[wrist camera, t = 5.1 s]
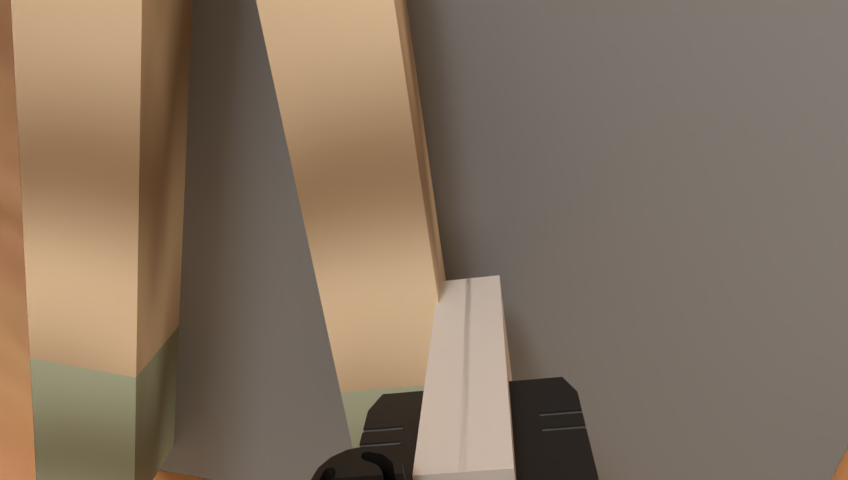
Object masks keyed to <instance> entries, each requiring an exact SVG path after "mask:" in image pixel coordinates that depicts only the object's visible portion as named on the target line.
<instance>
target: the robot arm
mask: <svg viewBox="0 0 848 480" xmlns="http://www.w3.org/2000/svg"><path fill="white" fill-rule="evenodd" d="M359 446H360V447H358V448H353V449H348V450H345V451H343V452H341V453H339V454H337V455H334V456H332V457H330V458H329V459H328V460H327V461H326V462H324V463H323V464H322V465H321V466H320V467H318V469H317V470H316V472H315V474H314V475H313V477H312V479H311V480H599V478H598V474H597V470H596V466H595V461H594V457H593V453H592V449H591V445H590V441H589V437H588V433H587V429H586V425H585V421H584V417H583V413H582V408H581V404H580V400H579V396H578V392H577V391H576V390H575V389H574V388H573V387H572V386H571V385H570V384H569V383H568V382H567V381H566V380H565V379H564V378H563V377H553V378H542V379H530V380H519V381H512V375H511V366H510V358H509V350H508V342H507V333H506V325H505V317H504V308H503V300H502V292H501V283H500V275H496V276H487V277H477V278H468V279H459V280H449V281H441V282H440V292H439V303H436V304H435V311H434V319H433V326H432V334H431V341H430V348H429V356H428V363H427V371H426V378H425V385H424V391H414V392H402V393H391V394H382V395H381V397H380V398H379V399H378V400H377V401H376V402H375V403H374V405H373V406H372V407H371V408H370V409H369V410H368V413H367V417H366V420H365V424H364V428H363V433H362V436H361V440H360V443H359Z"/></svg>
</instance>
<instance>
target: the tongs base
mask: <svg viewBox="0 0 848 480" xmlns="http://www.w3.org/2000/svg"><path fill="white" fill-rule="evenodd" d="M192 3H193V0H11V10H12V29H13V48H14V66H15V85H16V104H17V123H18V142H19V161H20V180H21V199H22V217H23V236H24V255H25V274H26V293H27V312H28V331H29V350H30V368H31V387H32V406H33V425H34V444H35V463H36V480H153V478H154V477H155V475H156V473H157V472H158V470H159V469H160V467H161V465H162V464H163V462H164V461H165V459H166V457H167V456H168V454H169V453H170V451H171V449H172V448H173V446H174V431H175V407H176V383H177V359H178V335H179V312H180V288H181V264H182V240H183V217H184V193H185V169H186V145H187V122H188V98H189V74H190V50H191V26H192Z"/></svg>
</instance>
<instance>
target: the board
mask: <svg viewBox="0 0 848 480" xmlns="http://www.w3.org/2000/svg"><path fill="white" fill-rule="evenodd" d="M406 2H407V9H408V16H409V23H410V30H411V37H412V44H413V51H414V58H415V65H416V72H417V80H418V87H419V94H420V101H421V108H422V115H423V122H424V129H425V136H426V143H427V150H428V158H429V165H430V172H431V179H432V186H433V193H434V200H435V207H436V214H437V221H438V228H439V236H440V243H441V250H442V257H443V264H444V271H445V278H446V281H449V280H459V279H468V278H477V277H487V276H496V275H500V283H501V292H502V300H503V308H504V317H505V325H506V333H507V342H508V350H509V358H510V366H511V375H512V381H519V380H530V379H542V378H553V377H563V378H564V379H565V380H566V381H567V382H568V383H569V384H570V385H571V386H572V387H573V388H574V389H575V390H576V391H577V392H578V396H579V400H580V404H581V408H582V413H583V417H584V421H585V425H586V429H587V433H588V437H589V441H590V445H591V449H592V453H593V457H594V461H595V466H596V470H597V474H598V478H599V480H831V479H832V477H833V475H834V473H835V471H836V469H837V467H838V465H839V463H840V461H841V459H842V457H843V455H844V453H845V451H846V449H847V447H848V0H406ZM348 449H353V447H352V443H351V438H350V433H349V429H348V424H347V419H346V415H345V410H344V406H343V401H342V396H341V392H340V387H339V382H338V378H337V373H336V368H335V364H334V359H333V355H332V350H331V345H330V341H329V336H328V331H327V327H326V322H325V318H324V313H323V308H322V304H321V299H320V294H319V290H318V285H317V280H316V276H315V271H314V267H313V262H312V257H311V253H310V248H309V243H308V239H307V234H306V230H305V225H304V220H303V216H302V211H301V206H300V202H299V197H298V193H297V188H296V183H295V179H294V174H293V169H292V165H291V160H290V155H289V151H288V146H287V142H286V137H285V132H284V128H283V123H282V118H281V114H280V109H279V105H278V100H277V95H276V91H275V86H274V81H273V77H272V72H271V67H270V63H269V58H268V54H267V49H266V44H265V40H264V35H263V30H262V26H261V21H260V17H259V12H258V7H257V3H256V0H193V3H192V26H191V50H190V74H189V98H188V122H187V145H186V169H185V193H184V217H183V240H182V264H181V288H180V312H179V335H178V359H177V383H176V407H175V431H174V446H173V448H172V449H171V451H170V453H169V454H168V456H167V457H166V459H165V461H164V462H163V464H162V465H161V467H160V469H159V471H165V472H170V473H176V474H181V475H187V476H192V477H198V478H204V479H209V480H311V479H312V477H313V475H314V474H315V472H316V470H317V469H318V467H320V466H321V465H322V464H323V463H324V462H326V461H327V460H328V459H329V458H330V457H332V456H334V455H337V454H339V453H341V452H343V451H345V450H348Z"/></svg>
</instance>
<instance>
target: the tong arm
mask: <svg viewBox="0 0 848 480" xmlns="http://www.w3.org/2000/svg"><path fill="white" fill-rule="evenodd" d="M256 3H257V7H258V12H259V17H260V21H261V26H262V30H263V35H264V40H265V44H266V49H267V54H268V58H269V63H270V67H271V72H272V77H273V81H274V86H275V91H276V95H277V100H278V105H279V109H280V114H281V118H282V123H283V128H284V132H285V137H286V142H287V146H288V151H289V155H290V160H291V165H292V169H293V174H294V179H295V183H296V188H297V193H298V197H299V202H300V206H301V211H302V216H303V220H304V225H305V230H306V234H307V239H308V243H309V248H310V253H311V257H312V262H313V267H314V271H315V276H316V280H317V285H318V290H319V294H320V299H321V304H322V308H323V313H324V318H325V322H326V327H327V331H328V336H329V341H330V345H331V350H332V355H333V359H334V364H335V368H336V373H337V378H338V382H339V387H340V392H341V396H342V401H343V406H344V410H345V415H346V419H347V424H348V429H349V433H350V438H351V443H352V447H353V448H358V447H360V446H359V443H360V440H361V436H362V433H363V428H364V424H365V420H366V417H367V413H368V410H369V409H370V408H371V407H372V406H373V405H374V403H375V402H376V401H377V400H378V399H379V398H380V397H381V395H382V394H391V393H402V392H414V391H424V385H425V378H426V371H427V363H428V356H429V348H430V341H431V334H432V326H433V319H434V311H435V304H436V303H439V292H440V282H441V281H446V278H445V271H444V264H443V257H442V250H441V243H440V236H439V228H438V221H437V214H436V207H435V200H434V193H433V186H432V179H431V172H430V165H429V158H428V150H427V143H426V136H425V129H424V122H423V115H422V108H421V101H420V94H419V87H418V80H417V72H416V65H415V58H414V51H413V44H412V37H411V30H410V23H409V16H408V9H407V2H406V0H256Z"/></svg>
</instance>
